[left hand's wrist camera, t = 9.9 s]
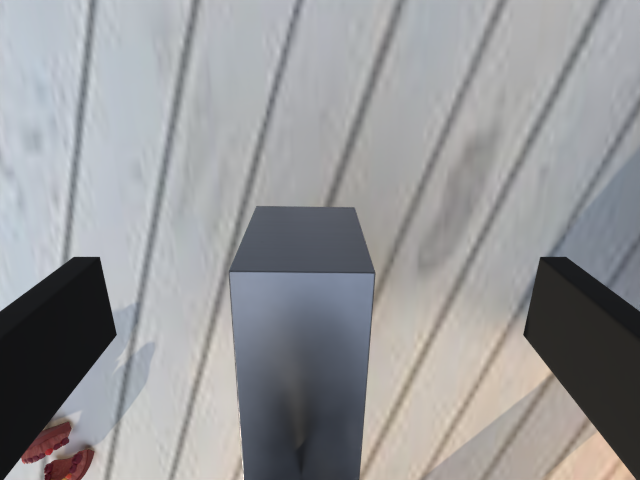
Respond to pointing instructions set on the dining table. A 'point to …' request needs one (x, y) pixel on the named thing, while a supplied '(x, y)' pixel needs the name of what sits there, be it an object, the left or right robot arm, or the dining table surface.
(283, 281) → the bar
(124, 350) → the dining table surface
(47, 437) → the dental model
